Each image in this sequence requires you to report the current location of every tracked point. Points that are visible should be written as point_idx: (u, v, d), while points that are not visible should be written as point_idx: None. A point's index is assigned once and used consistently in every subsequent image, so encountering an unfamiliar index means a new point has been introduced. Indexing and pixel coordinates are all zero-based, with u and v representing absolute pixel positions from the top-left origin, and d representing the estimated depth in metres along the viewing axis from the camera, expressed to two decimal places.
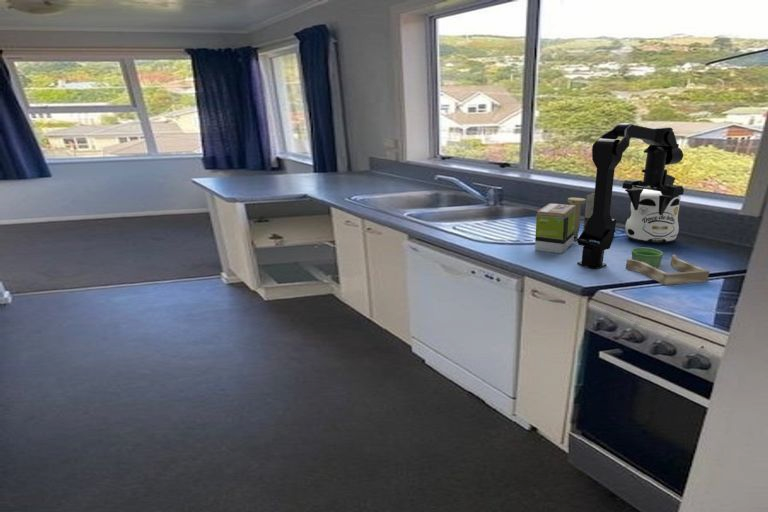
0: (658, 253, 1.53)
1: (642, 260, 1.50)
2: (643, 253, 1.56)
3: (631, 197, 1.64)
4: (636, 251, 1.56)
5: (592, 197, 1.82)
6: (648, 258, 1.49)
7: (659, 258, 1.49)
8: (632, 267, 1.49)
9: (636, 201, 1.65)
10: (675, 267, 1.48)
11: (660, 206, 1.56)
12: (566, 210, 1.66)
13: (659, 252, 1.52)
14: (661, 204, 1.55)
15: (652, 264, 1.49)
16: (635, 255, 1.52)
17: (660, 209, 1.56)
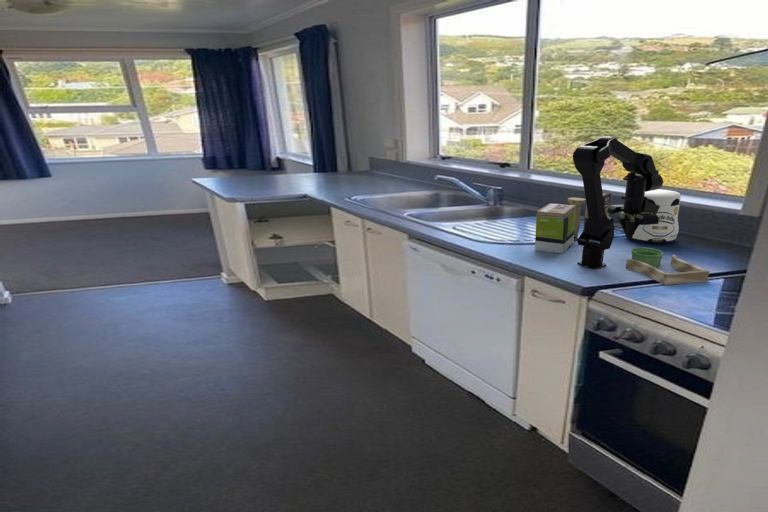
0: (658, 253, 1.53)
1: (642, 260, 1.50)
2: (643, 253, 1.56)
3: (622, 225, 1.60)
4: (636, 251, 1.56)
5: None
6: (648, 258, 1.49)
7: (659, 258, 1.49)
8: (632, 267, 1.49)
9: None
10: (675, 267, 1.48)
11: (627, 230, 1.59)
12: (566, 210, 1.66)
13: (659, 252, 1.52)
14: (627, 229, 1.58)
15: (652, 264, 1.49)
16: (635, 255, 1.52)
17: (627, 233, 1.59)
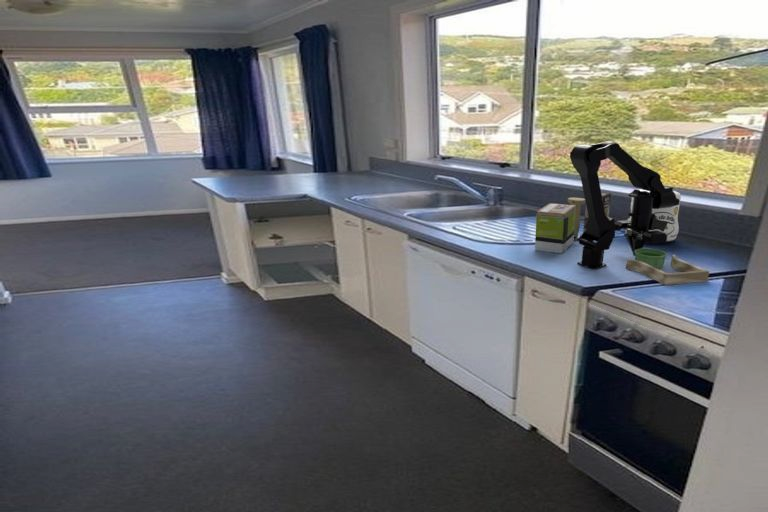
0: (661, 254, 1.51)
1: (645, 261, 1.49)
2: (646, 254, 1.55)
3: (629, 242, 1.57)
4: (639, 252, 1.54)
5: None
6: (651, 259, 1.48)
7: (662, 259, 1.48)
8: (632, 267, 1.49)
9: None
10: (675, 267, 1.48)
11: (634, 248, 1.56)
12: (566, 210, 1.66)
13: (662, 253, 1.51)
14: (634, 246, 1.55)
15: (655, 265, 1.48)
16: (638, 256, 1.50)
17: (634, 250, 1.57)
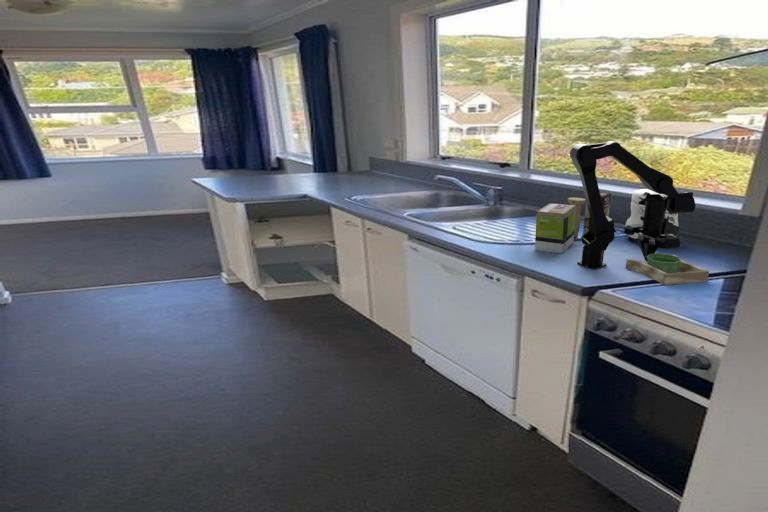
0: (675, 259, 1.46)
1: (659, 267, 1.43)
2: (659, 259, 1.49)
3: (641, 247, 1.52)
4: (651, 257, 1.49)
5: None
6: (665, 264, 1.42)
7: (677, 265, 1.42)
8: (632, 267, 1.49)
9: None
10: None
11: (645, 253, 1.51)
12: (566, 210, 1.66)
13: (676, 258, 1.46)
14: (646, 251, 1.50)
15: (669, 271, 1.43)
16: (651, 262, 1.45)
17: (646, 256, 1.51)
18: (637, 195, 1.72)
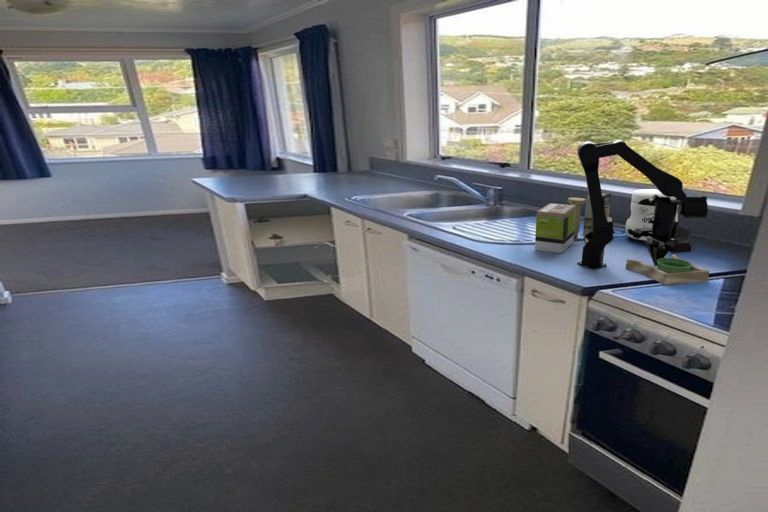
0: (685, 264, 1.42)
1: (670, 272, 1.39)
2: (668, 264, 1.45)
3: (650, 251, 1.48)
4: (661, 262, 1.45)
5: None
6: (676, 269, 1.38)
7: (688, 270, 1.38)
8: (632, 267, 1.49)
9: None
10: None
11: (655, 257, 1.46)
12: (566, 210, 1.66)
13: (687, 263, 1.42)
14: (655, 255, 1.46)
15: None
16: (662, 267, 1.40)
17: (655, 260, 1.47)
18: (637, 195, 1.72)
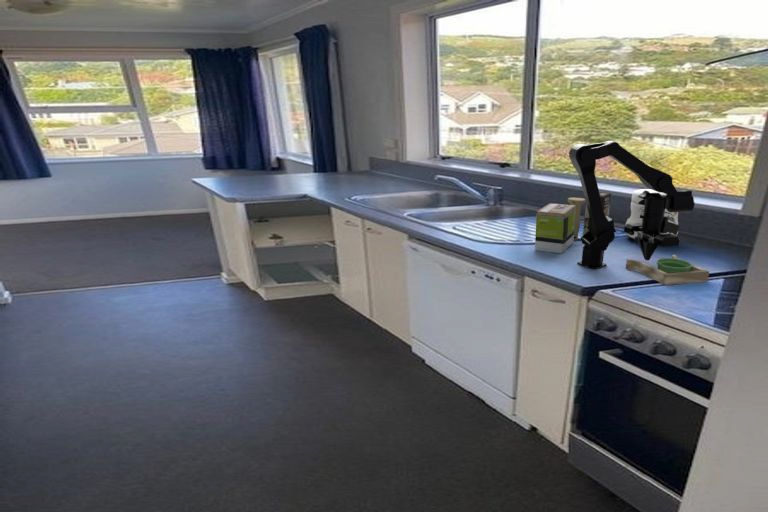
0: (685, 264, 1.42)
1: (670, 272, 1.39)
2: (668, 264, 1.45)
3: (640, 246, 1.52)
4: (661, 262, 1.45)
5: None
6: (676, 270, 1.38)
7: (688, 270, 1.38)
8: (632, 267, 1.49)
9: None
10: None
11: (645, 251, 1.51)
12: (566, 210, 1.66)
13: (687, 263, 1.42)
14: (645, 249, 1.50)
15: None
16: (662, 267, 1.40)
17: (645, 254, 1.51)
18: (637, 195, 1.72)
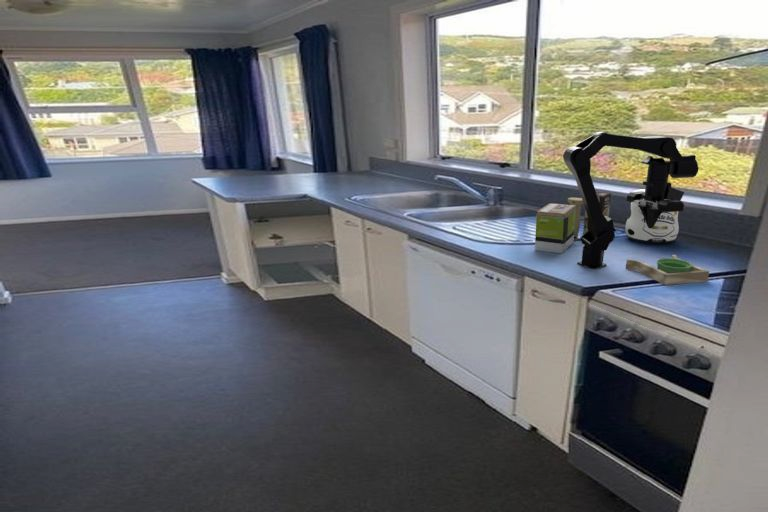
0: (685, 264, 1.42)
1: (670, 272, 1.39)
2: (668, 264, 1.45)
3: (643, 213, 1.49)
4: (661, 262, 1.45)
5: None
6: (676, 270, 1.38)
7: (688, 270, 1.38)
8: (632, 267, 1.49)
9: None
10: None
11: (648, 219, 1.48)
12: (566, 210, 1.66)
13: (687, 263, 1.42)
14: (649, 217, 1.47)
15: None
16: (662, 267, 1.40)
17: (649, 222, 1.48)
18: None
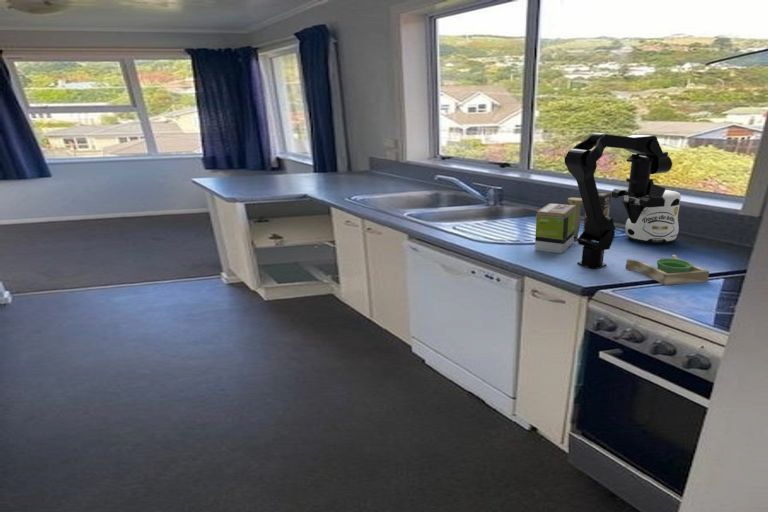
0: (685, 264, 1.42)
1: (670, 272, 1.39)
2: (668, 264, 1.45)
3: (627, 209, 1.55)
4: (661, 262, 1.45)
5: None
6: (676, 270, 1.38)
7: (688, 270, 1.38)
8: (632, 267, 1.49)
9: None
10: None
11: (631, 214, 1.54)
12: (566, 210, 1.66)
13: (687, 263, 1.42)
14: (632, 212, 1.53)
15: None
16: (662, 267, 1.40)
17: (632, 217, 1.55)
18: None
